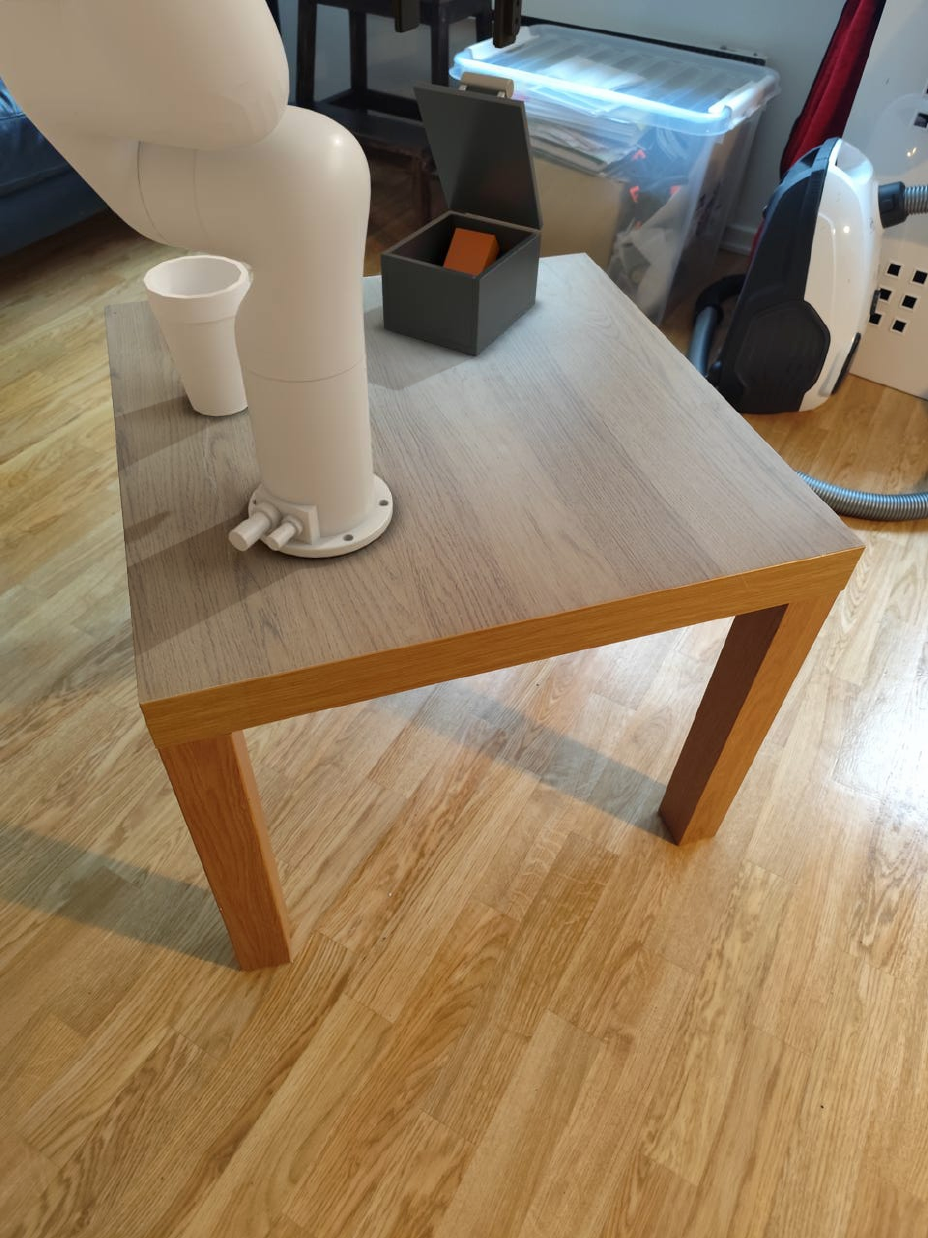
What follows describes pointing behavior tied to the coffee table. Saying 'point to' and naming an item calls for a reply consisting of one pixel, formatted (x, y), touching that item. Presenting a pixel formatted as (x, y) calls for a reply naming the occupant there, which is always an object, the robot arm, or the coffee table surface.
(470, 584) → the coffee table surface
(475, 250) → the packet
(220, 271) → the foam cup
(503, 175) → the lid
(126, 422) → the coffee table surface
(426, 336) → the bin
